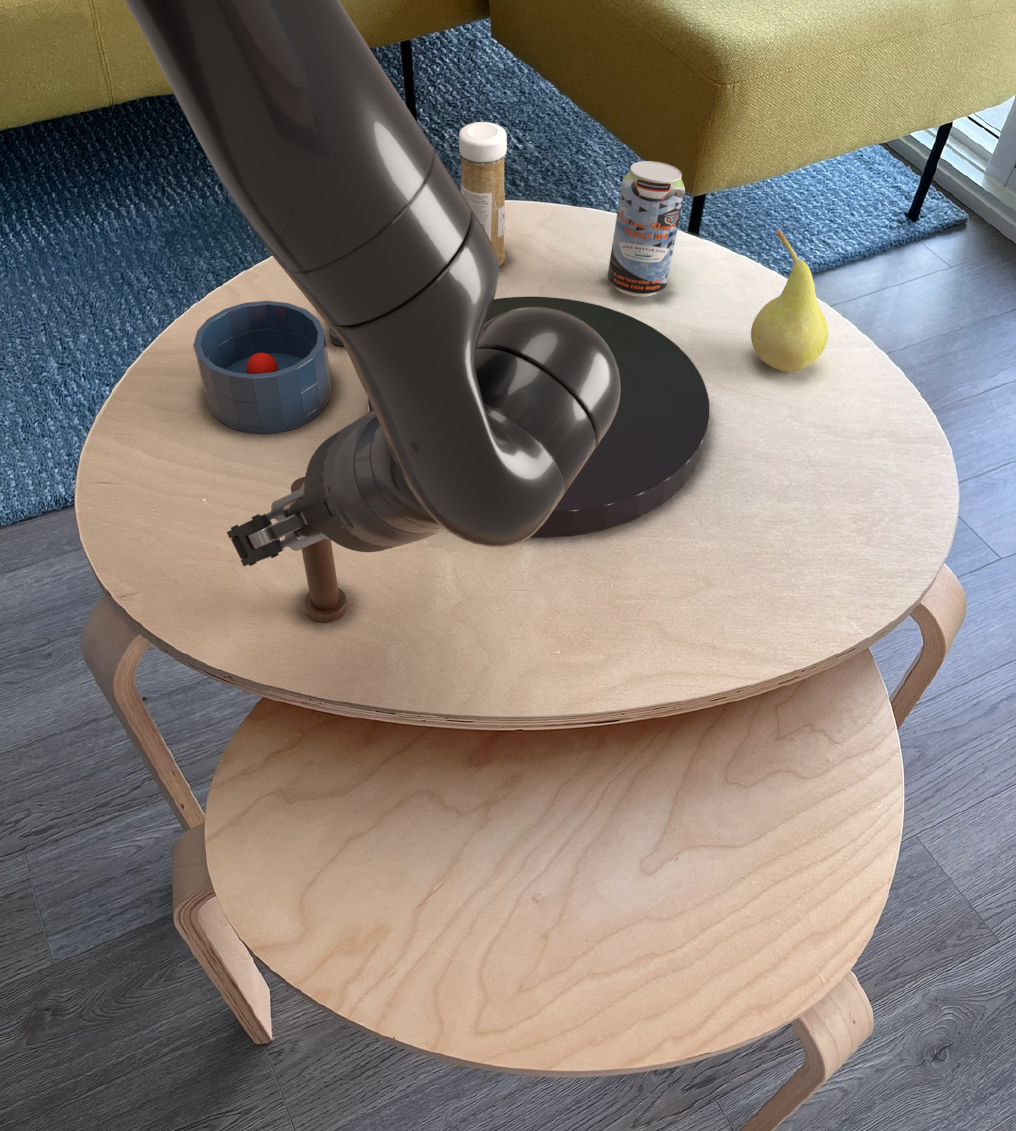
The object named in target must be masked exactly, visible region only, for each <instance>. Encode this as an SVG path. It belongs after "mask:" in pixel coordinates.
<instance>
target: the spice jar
mask: <svg viewBox="0 0 1016 1131" xmlns="http://www.w3.org/2000/svg"><path fill="white" fill-rule="evenodd" d="M507 141H508V138H507V131H506V130H505V129H504V128H503V127H502V126H500V125H499V124H497V123H493V122H488V121H476V122H472V123H469V124H467V125H465V126H463V127H462V128H461V129H460V131H459V132H458V151H459V155H460V159H461V160H460V171H461V172H460V173H461V174H460V175H461V180H460V192H461V193H462V195H463V196H464V198H465V200H466V201H467V203H468V204H469V206H470V207H471V209H472V210H473V212H474V214H475V215H476V217H477V218H478V220H479V221H480V223H481V225H482V227H483V228H484V230H485V232H486V233H487V235H488V237H489V239H490V241H491V243H492V245H493V247H494V250H495V252H496V255H497V259H498V266H499V267H500V266H502V264H504V262H505V260H506V253H505V229H506V224H505V223H506V221H505V220H506V214H505V212H506V211H505V210H506V196H505V195H506V194H505V192H506V191H505V159H506V155H507V150H508V148H507V146H508V144H507V143H508V142H507Z"/></svg>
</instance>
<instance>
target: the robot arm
mask: <svg viewBox="0 0 1016 1131" xmlns="http://www.w3.org/2000/svg"><path fill="white" fill-rule="evenodd" d="M123 1H124V2H125V5H126V6H127V8H128V10H129V11H130V13H131V15H132V17H133V19H134V20H135V21H134V22H136V24H137V26H138V28H139V30H140V31H141V33H142V35H143V37H144V39H145V41H146V43H147V44H148V47H149V48H150V50H151V52H152V54H153V56H154V58H155V60H156V61H157V63H158V65H159V68H160V70H161V71H162V74H163V75H164V77H165V79H166V82H167V83H168V85H169V87H170V89H171V91H172V93H173V95H174V97H175V98H176V100H177V103H178V105H179V106H180V108H181V111H182V112H183V114H184V116H185V118H186V120H187V122H188V123H189V126H190V127H191V130H192V131H193V133H194V135H195V137H196V139H197V140H198V143H199V144H200V146H201V148H202V150H203V152H204V154H205V155H206V158H207V159H208V161H209V163H210V165H211V166H212V168H213V170H214V172H215V173H216V175H217V177H218V179H219V181H220V182H221V184H222V185H223V188H225V191H226V192H227V193H228V196H229V197H230V199H231V200H232V202H233V203H234V205H235V207H236V208H237V209H238V211H239V213H240V214H241V215H242V217H243V218H244V220H245V222H246V223H247V224H248V226H249V227H250V229H251V230H252V231H253V232H254V234H255V235H256V236H257V238H258V239H259V241H260V242H261V244H262V245H263V246H264V247H265V249H266V250H267V251H268V252H269V254H270V255H271V256H272V257H273V259H274V260H275V261H276V262H277V263H278V265H279V266H280V267H281V268H282V270H283V271H284V272H285V273H286V274H287V276H288V277H289V278H290V280H291V281H292V282H293V283H294V284H295V286H296V287H297V288H298V289H299V291H300V292H301V293H302V295H304V298H306V299H307V301H308V302H309V304H310V305H311V306H312V307H313V308H314V309H315V311H316V312H317V313H318V314H319V315H320V317H321V318H322V319H323V320H324V322H325V323H326V324H327V325H328V326H329V329H330V328H331V329H332V330H333V331H334V333H335V334H336V335H337V336H338V338H339V339H340V340H341V342H342V343H343V345H342V346H343V347H344V349H345V351H346V353H347V355H348V357H349V359H350V362H351V363H352V365H353V368H354V370H355V372H356V374H357V377H358V379H359V381H360V384H361V386H362V387H363V390H364V391H365V393H366V396H367V399H368V398H369V400H370V403H371V405H372V407H373V410H374V411H372V412H370V413H369V412H368V413H366V414H365V415H363V416H361V417H359V418H358V419H356V420H355V421H353V422H352V423H350V424H348V425H346V426H345V427H343V428H342V429H340V430H338V431H337V432H335V433H334V434H332V435H330V436H329V437H328V438H326V439H325V440H324V441H323V442H321V444H320V445H319V446H318V447H317V448H316V450H315V451H314V453H313V454H312V455H311V458H310V460H309V462H308V465H307V468H306V471H305V475H304V477H305V483H303V485H302V487H301V489H299V490H297V491H295V492H293V493H291V492H290V494H286V495H285V496H283V497H280V498H278V499H276V500H274V501H273V502H272V503H271V505H270V511H269V512H268V513H264V514H259V513H257V514H255V515H253V516H251V517H250V518H251V520H249V521H247V522H245V523H242V524H240V525H239V524H235V525H233V526H231V527H230V530H228V531H226V534H227V537H228V538H229V539H230V541H231V543H232V545H233V546H234V548H235V551H236V553H237V554H238V556H239V559H240V562H241V564H242V566H243V567H247V566H249V567H251V566H254V565H255V564H257V562H258V563H259V562H260V561H263V560H265V559H268V558H270V559H273V558H274V559H275V558H276V557H278V556H280V554H279V553H281V552H283V551H284V550H285V548H290V550H292V551H295V552H298V551H300V550H302V548H305V547H307V546H309V545H312V544H314V543H316V542H319V541H321V540H323V539H327V540H331V542H333V543H335V544H336V545H338V546H340V547H343V548H345V549H347V550H351V551H354V552H359V553H360V552H361V553H376V552H381V551H385V550H389V549H394V548H397V547H401V546H405V545H408V544H412V543H416V542H420V541H422V540H425V539H428V538H430V537H432V536H434V535H436V534H437V533H438V532H440V531H442V530H446V531H447V532H449V533H451V534H452V535H454V536H455V537H456V538H459V539H461V540H463V541H465V542H468V543H470V544H474V545H478V546H482V547H488V548H506V547H511V546H514V545H519V544H521V543H523V542H525V541H527V540H528V539H529V538H531V537H532V535H533V534H534V533H535V532H536V531H537V530H538V529H539V528H540V527H541V526H542V525H543V524H544V523H545V521H546V520H547V519H548V517H549V516H550V514H551V513H552V512H553V510H554V509H555V507H556V506H557V504H558V503H559V501H560V500H561V498H562V497H563V495H564V493H565V492H566V491H567V489H568V488H569V486H570V485H571V483H572V482H573V480H574V479H575V477H576V476H577V475H578V473H579V472H580V470H581V469H582V467H583V466H584V464H585V463H586V461H587V460H588V459H589V457H590V456H591V454H592V453H593V451H594V450H595V448H596V447H597V445H598V444H599V443H600V441H601V440H602V438H603V437H604V435H605V434H606V432H607V430H608V429H609V427H610V426H611V424H612V421H613V419H614V417H615V415H616V412H617V409H618V405H619V401H620V392H621V385H620V375H619V370H618V367H617V364H616V361H615V358H614V356H613V354H612V352H611V350H610V348H609V347H608V345H607V344H606V342H605V341H604V339H603V338H602V337H601V336H600V335H599V334H598V333H597V332H596V331H595V330H594V329H593V328H592V327H590V326H589V325H587V324H586V323H585V322H583V321H582V320H580V319H578V318H577V317H575V316H572V315H570V314H568V313H565V312H563V311H559V310H556V309H551V308H544V307H525V308H519V309H514V310H510V311H507V312H505V313H502V314H500V315H498V316H496V317H494V318H493V319H491V320H490V321H488V322H487V323H486V324H484V322H485V319H486V317H487V314H488V312H489V310H490V307H491V304H492V302H493V299H495V297H496V291H497V289H498V284H499V283H498V282H499V277H500V266H498V259H497V255H496V252H495V250H494V247H493V245H492V243H491V241H490V239H489V237H488V235H487V233H486V232H485V230H484V228H483V227H482V225H481V223H480V221H479V220H478V218H477V217H476V215H475V214H474V212H473V210H472V209H471V207H470V206H469V204H468V203H467V201H466V200H465V198H464V196H463V195H462V193H461V189H459V187H458V186H457V184H456V182H455V180H454V178H452V175H451V174H450V172H449V171H448V169H447V167H446V166H445V164H444V163H443V161H442V160H441V158H440V157H439V155H438V154H437V152H436V150H435V149H434V147H433V145H432V144H431V142H430V140H429V139H428V137H427V136H426V135H425V132H424V131H423V130H422V128H421V126H420V125H419V123H418V122H417V120H416V119H415V117H414V115H413V114H412V112H411V111H410V109H409V108H408V107H407V105H406V103H405V102H404V100H403V99H402V96H401V95H400V94H399V92H398V90H397V89H396V88H395V86H394V85H393V83H392V81H391V80H390V78H389V77H388V76H387V73H386V72H385V71H384V69H383V67H382V66H381V64H380V63H379V61H378V60H377V58H376V56H375V55H374V53H373V52H372V50H371V49H370V47H369V45H368V44H367V42H366V41H365V39H364V37H363V35H362V34H361V33H360V31H359V30H358V28H357V26H356V25H355V23H354V22H353V20H352V18H351V17H350V15H349V14H348V12H347V11H346V9H345V7H344V5H343V4H342V2H341V1H340V0H123ZM302 497H304V498H303V499H301V500H299V501H296V500H298V499H300V498H302ZM295 501H296V502H295ZM271 520H276V522H275V523H273V522H272V521H271ZM317 532H318V533H317ZM283 537H284V539H282V540H281V538H283Z"/></svg>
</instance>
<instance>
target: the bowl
mask: <svg viewBox="0 0 1016 1131" xmlns="http://www.w3.org/2000/svg"><path fill="white" fill-rule="evenodd" d="M326 338H327V337H326V332H325V329H324V328H323V325H322V323H321V321H320V319H319V318H318V317H317V316H316V315H314V314H313V313H312V312H310V311H309V310H308V309H306V308H303V307H301V306H298V305H295V304H291V303H290V302H282V301H274V300H260V301H249V302H242V303H239V304H236V305H233V306H230V307H226V308H224V309H222V310H220V311H219V312H217V313H215V314H214V315H212V316H210V317H209V318H207V319H206V320H205V321H204V322H203V323H202V324H201V326H200V327H199V328H198V329H197V331H196V333H195V336H194V341H193V350H194V354H195V358H196V362H197V366H198V371H199V374H200V379H201V383H202V387H203V392H204V396H205V398H206V402H207V405H208V409H209V410H210V412H211V414H212V415H213V416H214V417H215V419H216V420H218V421H219V422H221V423H222V424H223V425H225V426H227V427H228V428H231V429H233V430H236V431H239V432H244V433H250V434H263V435H264V434H276V433H277V434H278V433H283V432H287V431H291V430H293V429H296V428H297V429H298V428H299V427H302V426H304V425H307V423H309V422H311V421H312V420H314V419H315V418H317V417H318V416H319V415H320V414H321V413H322V412H323V411H324V410H325V409H326V407H327V406H328V404H329V402H330V400H331V395H332V384H331V382H332V379H331V377H332V376H331V370H330V362H329V355H328V348H327V347H328V346H327V339H326ZM256 353H266V354H269V355H270V356H272V357H273V358H274V359H275V361H276V363H277V365H278V371H276V372H271V373H261V374H247V369H246V367H247V362H248V360H249V359H250V357H251V356H253V355H254V354H256Z"/></svg>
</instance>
